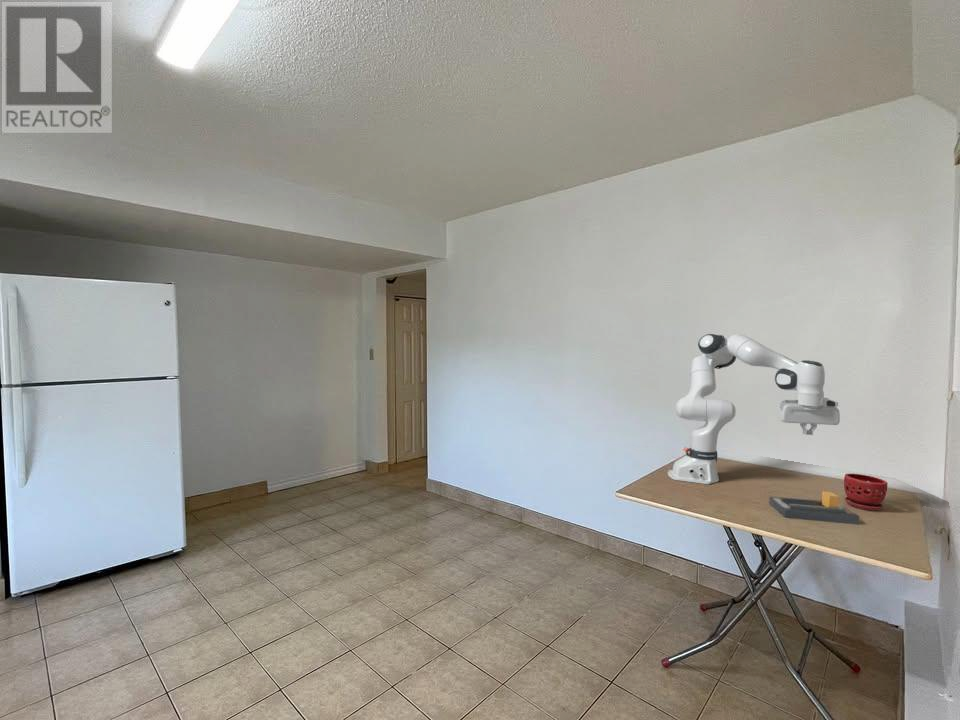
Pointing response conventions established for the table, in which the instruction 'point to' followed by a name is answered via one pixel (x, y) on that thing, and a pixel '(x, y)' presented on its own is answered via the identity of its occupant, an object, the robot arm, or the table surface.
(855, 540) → the table surface
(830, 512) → the gray rectangular tray
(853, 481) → the plant pot
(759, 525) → the table surface
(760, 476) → the table surface
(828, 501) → the block
